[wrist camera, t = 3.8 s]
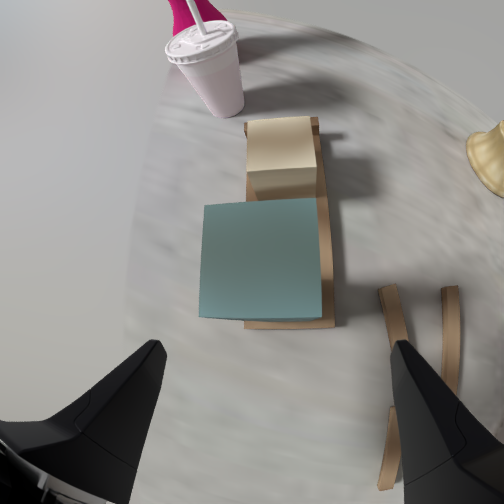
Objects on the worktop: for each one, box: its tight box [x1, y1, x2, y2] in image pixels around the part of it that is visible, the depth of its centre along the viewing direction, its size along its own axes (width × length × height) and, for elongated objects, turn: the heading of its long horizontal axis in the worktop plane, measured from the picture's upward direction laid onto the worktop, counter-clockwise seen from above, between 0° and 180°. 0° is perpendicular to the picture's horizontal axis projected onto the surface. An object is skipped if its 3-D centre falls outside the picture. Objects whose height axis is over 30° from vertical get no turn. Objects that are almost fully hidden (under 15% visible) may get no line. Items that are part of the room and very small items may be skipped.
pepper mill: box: [168, 0, 227, 37], centre depth 20 cm, size 7×7×20 cm
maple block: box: [246, 116, 317, 201], centre depth 20 cm, size 4×4×4 cm
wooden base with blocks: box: [199, 117, 335, 329], centre depth 15 cm, size 17×6×14 cm, turn 179°
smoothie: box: [165, 0, 245, 118], centre depth 20 cm, size 6×6×14 cm
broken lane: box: [377, 284, 460, 491], centre depth 16 cm, size 18×7×1 cm, turn 179°
